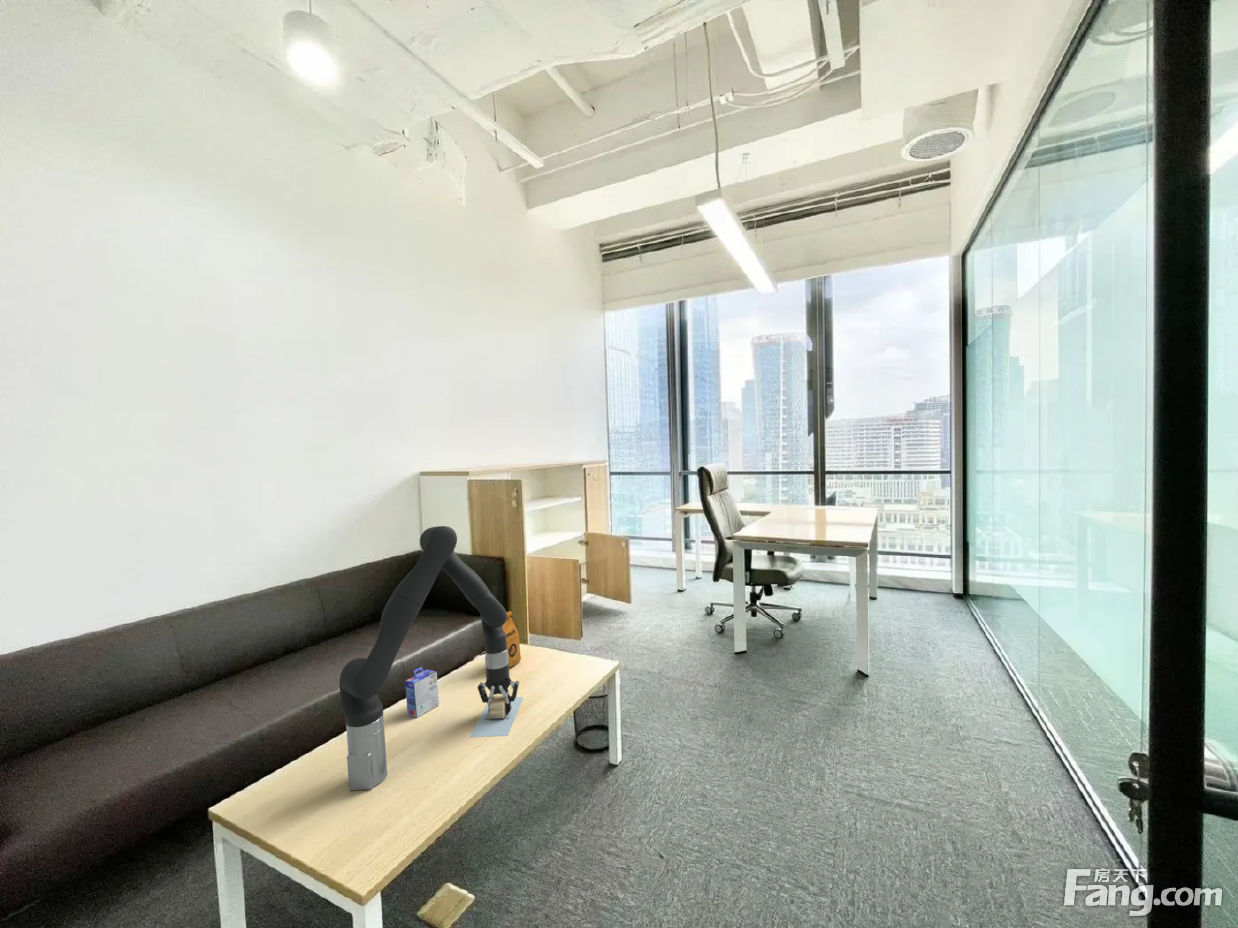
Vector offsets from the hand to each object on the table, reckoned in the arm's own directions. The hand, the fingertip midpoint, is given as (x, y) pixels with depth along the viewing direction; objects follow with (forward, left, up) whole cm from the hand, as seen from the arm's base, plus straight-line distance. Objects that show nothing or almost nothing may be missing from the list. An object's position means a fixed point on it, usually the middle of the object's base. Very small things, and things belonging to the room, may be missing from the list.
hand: (500, 712), depth 167 cm
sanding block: (0, 0, 0) cm, 0 cm away
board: (-1, 0, -2) cm, 2 cm away
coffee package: (+41, +8, -2) cm, 42 cm away
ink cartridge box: (+8, +29, -2) cm, 30 cm away
